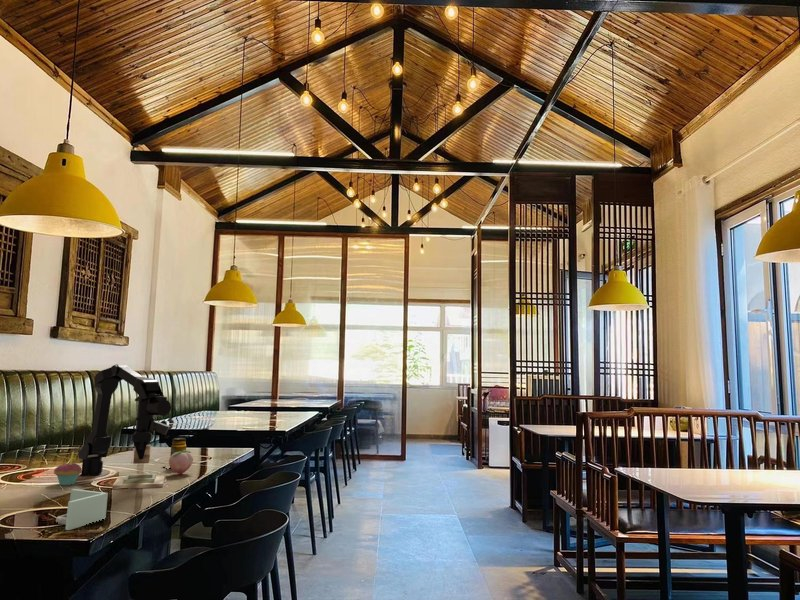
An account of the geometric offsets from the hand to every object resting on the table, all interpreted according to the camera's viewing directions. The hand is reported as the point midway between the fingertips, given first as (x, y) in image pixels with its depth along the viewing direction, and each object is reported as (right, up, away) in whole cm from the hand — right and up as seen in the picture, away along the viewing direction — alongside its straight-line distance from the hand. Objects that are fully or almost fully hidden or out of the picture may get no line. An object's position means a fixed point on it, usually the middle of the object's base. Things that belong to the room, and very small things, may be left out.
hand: (141, 458), depth 203 cm
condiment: (-1, -14, +33) cm, 36 cm away
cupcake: (-24, -8, -5) cm, 26 cm away
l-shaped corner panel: (+5, -3, -53) cm, 53 cm away
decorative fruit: (+6, -12, +18) cm, 23 cm away
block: (0, -2, 0) cm, 2 cm away
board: (0, -9, -1) cm, 9 cm away
